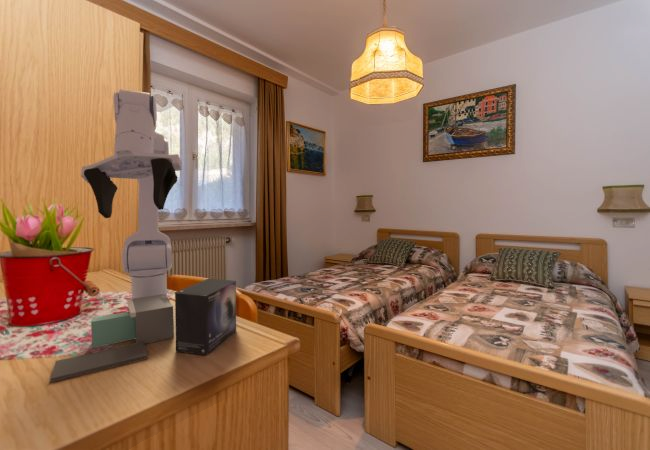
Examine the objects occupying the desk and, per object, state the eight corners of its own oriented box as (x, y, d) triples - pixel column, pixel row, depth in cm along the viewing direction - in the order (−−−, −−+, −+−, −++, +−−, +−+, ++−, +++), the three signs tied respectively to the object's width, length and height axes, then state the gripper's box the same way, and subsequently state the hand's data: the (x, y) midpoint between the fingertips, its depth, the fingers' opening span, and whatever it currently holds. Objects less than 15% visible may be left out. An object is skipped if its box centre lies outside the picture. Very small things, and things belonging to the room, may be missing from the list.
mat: (56, 364, 49) (55, 360, 49) (143, 344, 56) (143, 341, 56) (50, 382, 44) (50, 378, 44) (147, 358, 51) (147, 354, 51)
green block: (93, 343, 57) (91, 317, 56) (155, 330, 62) (154, 307, 62) (92, 348, 55) (91, 322, 54) (156, 334, 60) (155, 310, 60)
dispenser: (128, 328, 63) (127, 299, 62) (166, 321, 67) (165, 293, 66) (131, 346, 55) (130, 313, 55) (174, 337, 59) (172, 305, 58)
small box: (208, 356, 52) (207, 295, 51) (173, 352, 53) (171, 292, 52) (238, 330, 62) (237, 279, 61) (209, 328, 63) (207, 277, 63)
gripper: (73, 132, 49) (61, 204, 43) (170, 121, 51) (173, 187, 45) (98, 161, 55) (91, 228, 49) (184, 150, 58) (187, 212, 52)
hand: (132, 210), depth 48 cm, fingers open, 7 cm apart
